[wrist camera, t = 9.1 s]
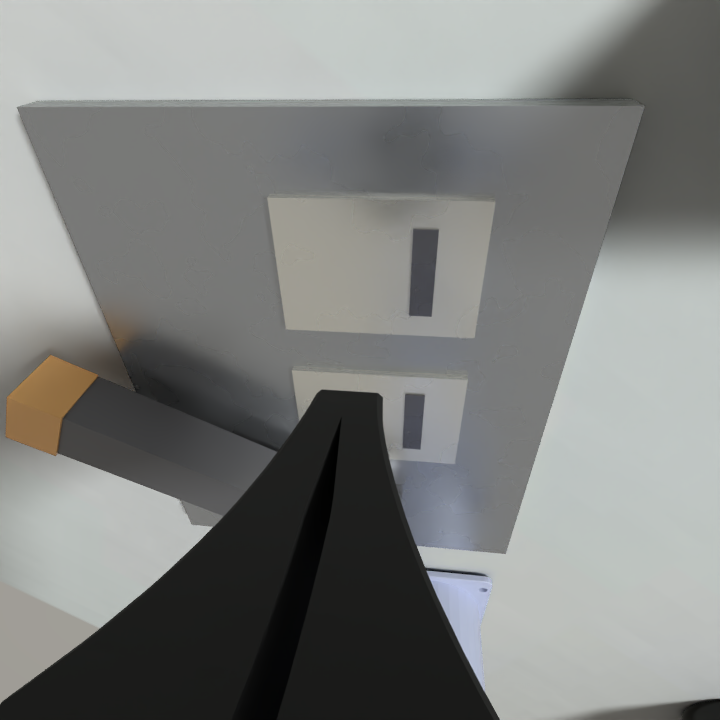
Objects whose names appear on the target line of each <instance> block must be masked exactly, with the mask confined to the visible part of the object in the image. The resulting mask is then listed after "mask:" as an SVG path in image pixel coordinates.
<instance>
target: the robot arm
mask: <svg viewBox="0 0 720 720" xmlns="http://www.w3.org/2000/svg"><path fill="white" fill-rule="evenodd" d="M491 589H492V580H491V579H490V578H489V577H486V576H477V575H467V574H457V573H447V572H437V571H426V569H425V566H424V564H423V561H422V559H421V556H420V554H419V551H418V549H417V546H416V544H415V541H414V538H413V536H412V533H411V530H410V527H409V524H408V521H407V519H406V516H405V512H404V509H403V506H402V503H401V500H400V497H399V494H398V490H397V487H396V483H395V480H394V476H393V472H392V468H391V464H390V460H389V456H388V451H387V446H386V441H385V434H384V428H383V397H382V396H381V395H380V394H379V393H373V392H356V391H340V390H323V389H322V390H320V391H319V392H318V393H317V394H316V395H315V397H314V399H313V401H312V402H311V404H310V405H309V407H308V409H307V410H306V412H305V413H304V415H303V416H302V418H301V420H300V421H299V423H298V424H297V425H296V427H295V428H294V430H293V431H292V433H291V434H290V436H289V437H288V438H287V440H286V441H285V442H284V444H283V445H282V446H281V448H280V449H279V450H278V452H277V453H276V454H275V456H274V457H273V458H272V460H271V461H270V462H269V464H268V465H267V466H266V468H265V469H264V470H263V471H262V472H261V474H260V475H259V476H258V477H257V478H256V480H255V481H254V482H253V483H252V484H251V486H250V487H249V488H248V489H247V490H246V492H245V493H244V494H243V495H242V496H241V498H240V499H239V500H238V501H237V502H236V503H235V504H234V505H233V507H232V508H231V509H230V510H229V511H228V512H227V513H226V514H225V515H224V516H223V517H222V519H221V520H220V521H219V522H218V523H217V524H216V525H215V526H214V527H213V528H212V529H211V530H210V531H209V532H208V533H207V534H206V535H205V536H204V537H203V538H202V539H201V540H200V541H199V542H198V543H197V544H196V545H195V546H194V547H193V548H192V549H191V550H190V551H189V552H188V553H187V554H186V555H184V556H183V557H182V558H181V559H180V560H179V561H178V562H177V563H176V564H175V565H174V566H173V567H172V568H171V569H170V570H169V571H167V572H166V573H165V574H164V575H163V576H162V577H161V578H160V579H159V580H158V581H156V582H155V583H154V584H153V585H152V586H151V587H150V588H148V589H147V590H146V591H145V592H144V593H142V594H141V595H140V596H139V597H138V598H136V599H135V600H134V601H133V602H132V603H130V604H129V605H128V606H127V607H125V608H124V609H123V610H122V611H121V612H119V613H118V614H117V615H116V616H115V617H113V618H112V619H111V620H110V621H109V622H107V623H106V624H105V625H104V626H103V627H101V628H100V629H99V630H98V631H97V632H95V633H94V634H93V635H91V636H90V637H89V638H88V639H86V640H85V641H84V642H83V643H81V644H80V645H78V646H77V647H76V648H74V649H73V650H72V651H70V652H69V653H68V654H66V655H65V656H63V657H62V658H61V659H59V660H58V661H57V662H55V663H54V664H53V665H51V666H50V667H49V668H47V669H46V670H45V671H43V672H42V673H40V674H39V675H38V676H36V677H35V678H34V679H32V680H31V681H30V682H28V683H27V684H26V685H24V686H23V687H22V688H20V689H19V690H17V691H16V692H15V693H13V694H12V695H11V696H9V697H8V698H7V699H5V700H4V701H3V702H2V703H1V704H0V720H500V719H499V717H498V715H497V714H496V712H495V710H494V708H493V706H492V705H491V703H490V701H489V699H488V697H487V695H486V694H485V682H484V670H483V657H482V644H481V632H480V625H481V622H482V619H483V616H484V612H485V609H486V606H487V602H488V599H489V596H490V593H491Z"/></svg>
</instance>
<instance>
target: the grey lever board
mask: <svg viewBox="0 0 720 720" xmlns="http://www.w3.org/2000/svg"><path fill="white" fill-rule="evenodd" d="M644 108H645V106H644V105H643V104H641V103H639V102H637V101H635V100H634V99H440V100H148V101H36V102H33V103H29V104H26V105H22V106H19V107H17V109H18V111H19V114H20V116H21V118H22V121H23V123H24V126H25V128H26V130H27V133H28V135H29V137H30V140H31V142H32V145H33V147H34V149H35V152H36V154H37V157H38V159H39V161H40V164H41V166H42V168H43V171H44V173H45V176H46V178H47V180H48V183H49V185H50V188H51V190H52V192H53V195H54V197H55V200H56V202H57V204H58V207H59V209H60V211H61V214H62V216H63V219H64V221H65V223H66V226H67V228H68V231H69V233H70V235H71V238H72V240H73V242H74V245H75V247H76V250H77V252H78V254H79V257H80V259H81V262H82V264H83V266H84V269H85V271H86V274H87V276H88V278H89V281H90V283H91V285H92V288H93V290H94V293H95V295H96V297H97V300H98V302H99V305H100V307H101V309H102V312H103V314H104V316H105V319H106V321H107V324H108V326H109V328H110V331H111V333H112V336H113V338H114V340H115V343H116V345H117V348H118V350H119V352H120V355H121V357H122V359H123V362H124V364H125V367H126V369H127V371H128V374H129V376H130V379H131V381H132V383H133V386H134V388H135V390H136V393H138V394H141V395H143V396H145V397H148V398H150V399H153V400H155V401H157V402H160V403H162V404H164V405H167V406H169V407H172V408H174V409H176V410H179V411H181V412H184V413H186V414H188V415H191V416H193V417H195V418H198V419H200V420H203V421H205V422H207V423H210V424H212V425H214V426H217V427H219V428H222V429H224V430H226V431H229V432H231V433H233V434H236V435H238V436H241V437H243V438H245V439H248V440H250V441H253V442H255V443H257V444H260V445H262V446H264V447H267V448H269V449H272V450H274V451H276V452H278V450H279V449H280V448H281V446H282V445H283V444H284V442H285V441H286V440H287V438H288V437H289V436H290V434H291V433H292V431H293V430H294V428H295V427H296V425H297V424H298V423H299V421H300V420H301V418H302V416H303V415H304V413H305V412H306V410H307V409H308V407H309V405H310V404H311V402H312V401H313V399H314V397H315V395H316V394H317V393H318V392H319V391H320V390H322V389H323V390H340V391H356V392H373V393H379V394H380V395H381V396H382V397H383V428H384V434H385V441H386V446H387V451H388V456H389V460H390V464H391V468H392V472H393V476H394V480H395V483H396V487H397V490H398V494H399V497H400V500H401V503H402V506H403V509H404V512H405V516H406V519H407V521H408V524H409V527H410V530H411V533H412V536H413V538H414V541H415V544H416V546H426V547H437V548H448V549H459V550H469V551H480V552H491V553H501V554H506V551H507V548H508V544H509V541H510V538H511V535H512V531H513V528H514V525H515V522H516V519H517V515H518V512H519V509H520V506H521V503H522V499H523V496H524V493H525V490H526V486H527V483H528V480H529V477H530V474H531V470H532V467H533V464H534V461H535V458H536V454H537V451H538V448H539V445H540V442H541V438H542V435H543V432H544V429H545V425H546V422H547V419H548V416H549V413H550V409H551V406H552V403H553V400H554V397H555V393H556V390H557V387H558V384H559V381H560V377H561V374H562V371H563V368H564V364H565V361H566V358H567V355H568V352H569V348H570V345H571V342H572V339H573V336H574V332H575V329H576V326H577V323H578V319H579V316H580V313H581V310H582V307H583V303H584V300H585V297H586V294H587V291H588V287H589V284H590V281H591V278H592V275H593V271H594V268H595V265H596V262H597V258H598V255H599V252H600V249H601V246H602V242H603V239H604V236H605V233H606V230H607V226H608V223H609V220H610V217H611V213H612V210H613V207H614V204H615V201H616V197H617V194H618V191H619V188H620V185H621V181H622V178H623V175H624V172H625V169H626V165H627V162H628V159H629V156H630V152H631V149H632V146H633V143H634V140H635V136H636V133H637V130H638V127H639V124H640V120H641V117H642V114H643V111H644ZM182 503H183V505H184V507H185V510H186V512H187V515H188V517H189V519H190V522H191V524H192V525H202V526H213V527H214V526H215V525H216V524H217V523H218V522H219V521H220V520H221V519H222V517H223V516H222V515H219V514H217V513H214V512H211V511H209V510H206V509H204V508H201V507H198V506H196V505H193V504H190V503H188V502H185V501H183V500H182Z"/></svg>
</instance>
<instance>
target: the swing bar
mask: <svg viewBox="0 0 720 720" xmlns="http://www.w3.org/2000/svg"><path fill="white" fill-rule="evenodd" d="M6 437H7V438H9V439H12V440H15V441H17V442H20V443H23V444H25V445H28V446H30V447H33V448H36V449H38V450H41V451H44V452H46V453H49V454H52V455H54V456H56V455H57V454H58V453H59V454H62V455H64V456H67V457H70V458H72V459H75V460H77V461H80V462H83V463H85V464H88V465H91V466H93V467H96V468H98V469H101V470H104V471H106V472H109V473H112V474H114V475H117V476H119V477H122V478H125V479H127V480H130V481H133V482H135V483H138V484H140V485H143V486H146V487H148V488H151V489H154V490H156V491H159V492H162V493H164V494H167V495H169V496H172V497H175V498H177V499H180V500H183V501H185V502H188V503H190V504H193V505H196V506H198V507H201V508H204V509H206V510H209V511H211V512H214V513H217V514H219V515H222V516H224V515H225V514H226V513H227V512H228V511H229V510H230V509H231V508H232V507H233V505H234V504H235V503H236V502H237V501H238V500H239V499H240V498H241V496H242V495H243V494H244V493H245V492H246V490H247V489H248V488H249V487H250V486H251V484H252V483H253V482H254V481H255V480H256V478H257V477H258V476H259V475H260V474H261V472H262V471H263V470H264V469H265V468H266V466H267V465H268V464H269V462H270V461H271V460H272V458H273V457H274V456H275V454H276V453H277V452H276V451H274V450H272V449H269V448H267V447H264V446H262V445H260V444H257V443H255V442H253V441H250V440H248V439H245V438H243V437H241V436H238V435H236V434H233V433H231V432H229V431H226V430H224V429H222V428H219V427H217V426H214V425H212V424H210V423H207V422H205V421H203V420H200V419H198V418H195V417H193V416H191V415H188V414H186V413H184V412H181V411H179V410H176V409H174V408H172V407H169V406H167V405H164V404H162V403H160V402H157V401H155V400H153V399H150V398H148V397H145V396H143V395H141V394H138V393H136V392H134V391H131V390H129V389H126V388H124V387H122V386H119V385H117V384H115V383H112V382H110V381H107V380H105V379H103V378H100V377H98V375H97V374H95V373H92V372H90V371H88V370H85V369H83V368H80V367H78V366H76V365H73V364H71V363H69V362H66V361H64V360H61V359H59V358H57V357H54V356H52V355H50V356H49V357H48V358H47V359H46V360H45V361H44V362H43V363H42V364H41V365H40V366H38V367H37V368H36V369H35V370H34V371H33V372H32V373H31V374H30V375H29V376H28V377H27V378H26V379H25V380H24V381H23V382H22V383H21V384H20V385H19V386H18V387H17V388H16V389H15V390H14V391H13V392H12V393H11V394H10V395H9V396H8V397H7V408H6Z"/></svg>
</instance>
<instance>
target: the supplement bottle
mask: <svg viewBox="0 0 720 720" xmlns="http://www.w3.org/2000/svg"><path fill="white" fill-rule="evenodd" d="M682 720H720V700H715V701H707V702H702V703H698V704H695V705H692V706H690V707H688V708H687V709H685V711H684V712H683V714H682Z"/></svg>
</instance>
